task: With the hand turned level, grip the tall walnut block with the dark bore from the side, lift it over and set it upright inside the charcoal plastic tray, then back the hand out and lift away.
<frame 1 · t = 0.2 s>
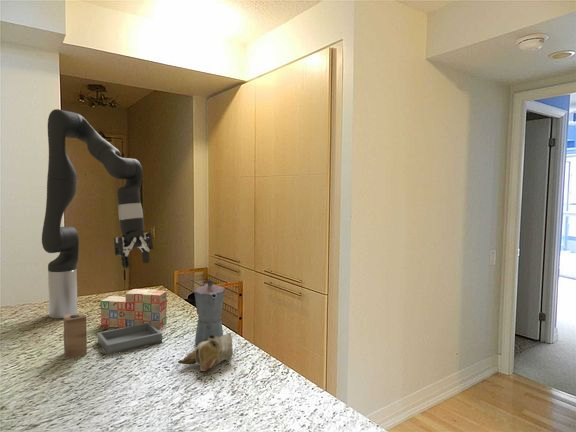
hand: (136, 265, 131), 22 cm above the countertop, fingers open, 8 cm apart
walnut block: (75, 353, 113), on the countertop
moka pot: (208, 342, 123), on the countertop
stack of blocks: (134, 325, 137), on the countertop
ceramic sculpture: (210, 366, 107), on the countertop
charcoal tray: (129, 342, 122), on the countertop
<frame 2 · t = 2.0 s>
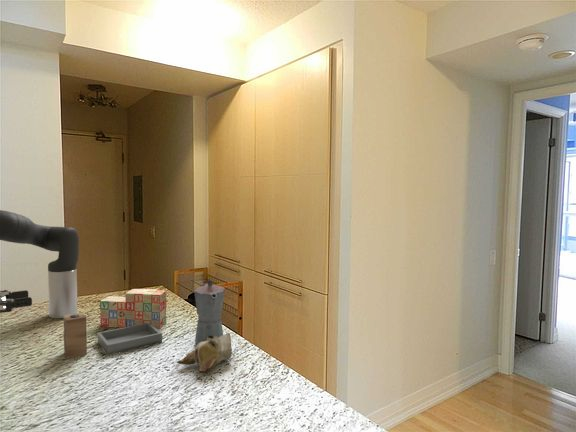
hand: (29, 297, 105), 18 cm above the countertop, fingers open, 8 cm apart
nothing on the countertop moved.
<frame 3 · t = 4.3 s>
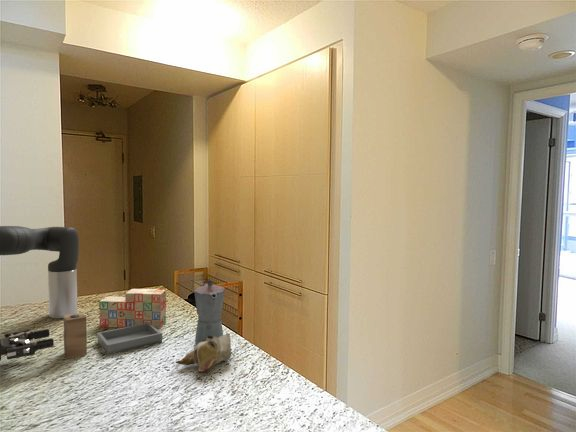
hand: (51, 337, 109), 6 cm above the countertop, fingers open, 8 cm apart
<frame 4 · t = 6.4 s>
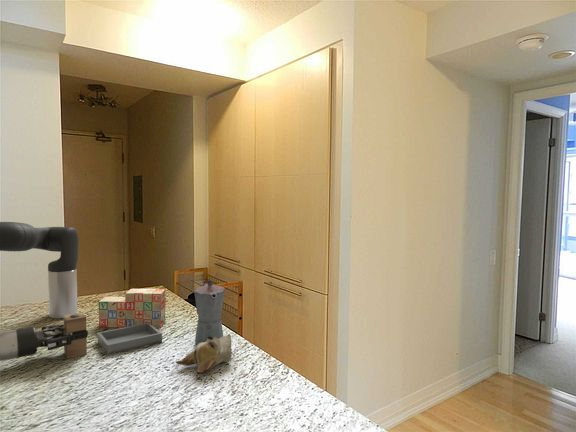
hand: (84, 330, 114), 6 cm above the countertop, fingers closed on walnut block, 5 cm apart
walnut block: (75, 353, 113), on the countertop, touching gripper
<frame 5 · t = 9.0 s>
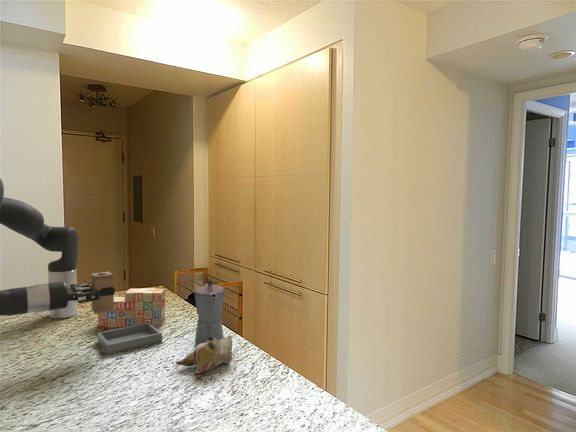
hand: (111, 288, 118), 18 cm above the countertop, fingers closed on walnut block, 5 cm apart
walnut block: (102, 310, 117), point 12 cm above the countertop, touching gripper
when the fingers open (8 cm above the countertop, at t = 11.9 s): walnut block drops 1 cm, resting on charcoal tray.
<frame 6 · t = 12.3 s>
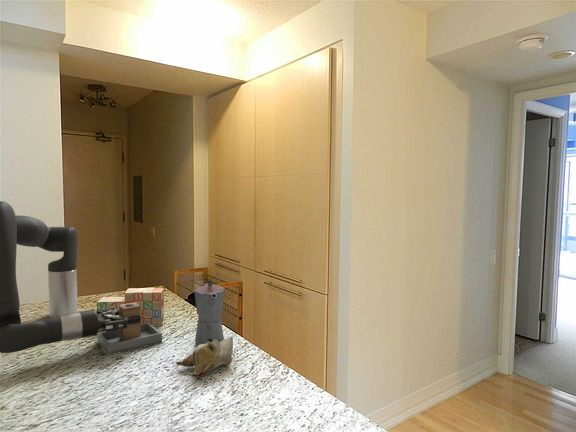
hand: (135, 314, 122), 8 cm above the countertop, fingers open, 8 cm apart
walnut block: (129, 339, 122), point 1 cm above the countertop, touching charcoal tray
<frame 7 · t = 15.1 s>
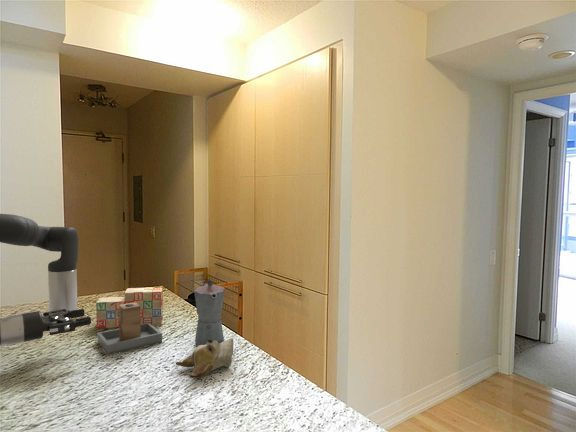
hand: (87, 316, 115), 10 cm above the countertop, fingers open, 8 cm apart
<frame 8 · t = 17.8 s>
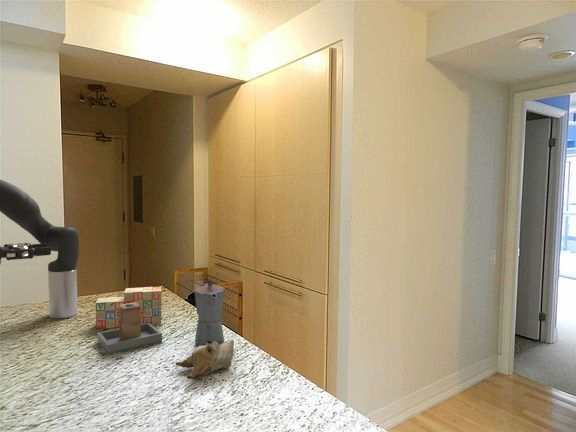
hand: (48, 248, 114), 30 cm above the countertop, fingers open, 8 cm apart
at the end: walnut block inside the target area on the charcoal tray (0.0 cm from its centre), point 0.8 cm above the charcoal tray's base; walnut block tilted 0°; the gripper is holding nothing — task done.
